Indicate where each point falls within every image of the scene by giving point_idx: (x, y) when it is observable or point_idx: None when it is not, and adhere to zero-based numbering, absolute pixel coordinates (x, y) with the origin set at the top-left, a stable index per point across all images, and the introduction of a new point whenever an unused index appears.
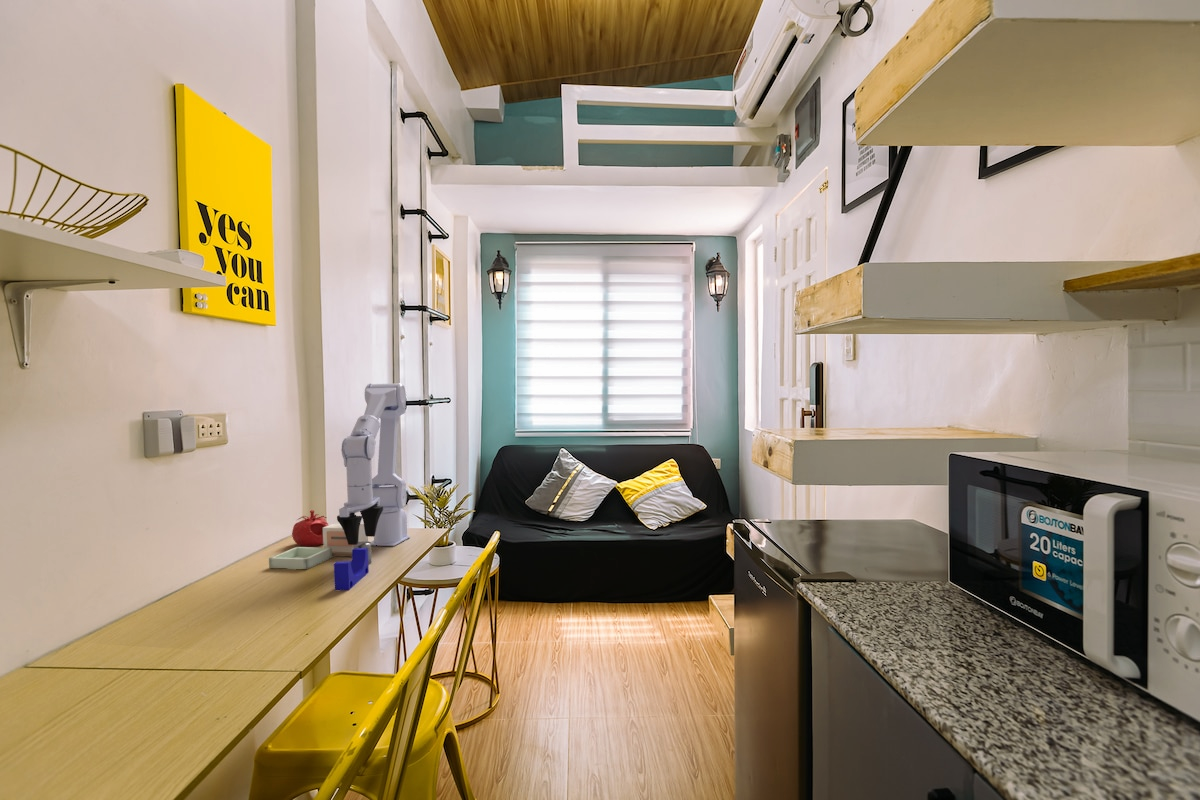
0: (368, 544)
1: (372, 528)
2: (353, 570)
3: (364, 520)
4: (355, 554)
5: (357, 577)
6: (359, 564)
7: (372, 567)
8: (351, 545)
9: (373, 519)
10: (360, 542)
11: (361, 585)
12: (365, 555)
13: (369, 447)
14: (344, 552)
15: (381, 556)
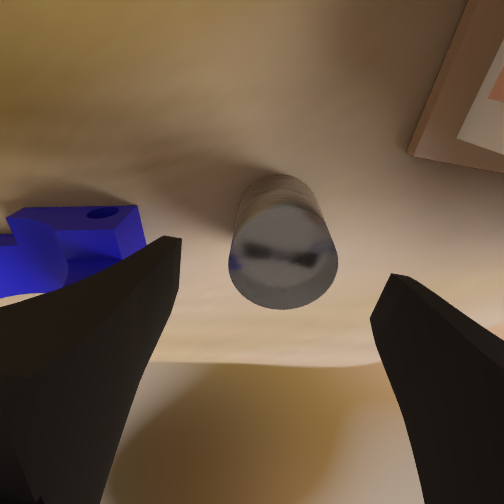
0: (261, 305)
1: (394, 358)
2: (58, 267)
3: (469, 362)
4: None
5: (26, 290)
6: None
7: (218, 271)
8: (493, 95)
9: (426, 438)
10: (313, 248)
11: (14, 301)
12: None
13: None
14: (497, 25)
15: (387, 256)
